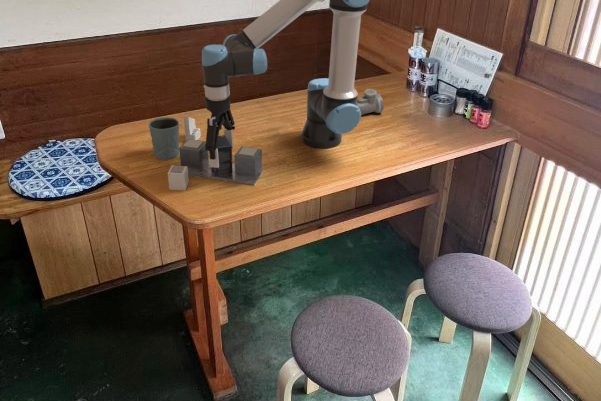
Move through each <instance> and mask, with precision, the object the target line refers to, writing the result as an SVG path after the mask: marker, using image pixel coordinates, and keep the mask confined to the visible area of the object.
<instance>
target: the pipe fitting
mask: <svg viewBox="0 0 601 401" xmlns="http://www.w3.org/2000/svg"><path fill="white" fill-rule="evenodd" d="M363 94H364V96H361V97H357V106H358V107H359V109H360V112H361V116H363V115H366V114H367V115H368V114H369V113H375V114H379V113H383V111H384V108H385V104H384V99H383V97H382V96H381V94H380V93H377V90H376V89H373V88H367V89H365V90H364V92H363Z"/></svg>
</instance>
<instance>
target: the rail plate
mask: <svg viewBox="0 0 601 401" xmlns="http://www.w3.org/2000/svg"><path fill="white" fill-rule="evenodd" d="M205 146H206V140H199V139H198V140H193V139H187V140H186V139H185V141H184V142H183V143H182V144H181V145H180V146H179V161H180V166H187V169H188V177H195V178H196V177H197V178H203V179H209V180H217V181H223V182H230V183H236V184H244V185H251V186H256V183H257V182H258V180H259V179H260V177H261V175H262V173H263V172H264V168H263V149H262V148H259V147H257V148H256V147H249V146H242V145H241V146H240V147H239V149H238V150H237V152H236V153H234V158H233V160H234V163H232V172H233V173H232V174H227V175H221V176H216V174H215V172H214V170H213V169H212V167H210V158H209V151H206V150H205Z"/></svg>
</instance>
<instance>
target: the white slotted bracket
mask: <svg viewBox="0 0 601 401" xmlns="http://www.w3.org/2000/svg"><path fill="white" fill-rule="evenodd" d="M183 124H184V125H183V126H184V134H185V141H186V140H187V139H193V140H199V139H200V137H201V136H202V134H201V133H202V132H201V128H199V127H196V119H195V118H192V117H189V116H183Z"/></svg>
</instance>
